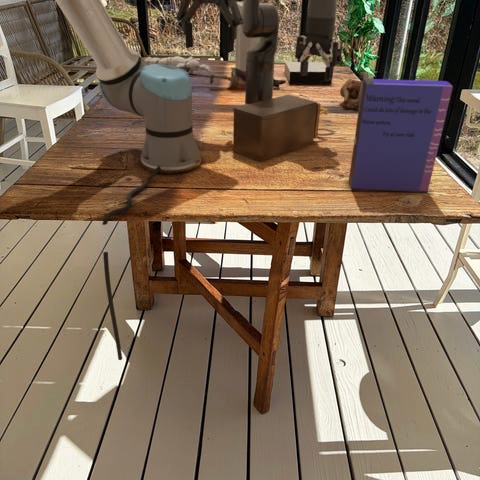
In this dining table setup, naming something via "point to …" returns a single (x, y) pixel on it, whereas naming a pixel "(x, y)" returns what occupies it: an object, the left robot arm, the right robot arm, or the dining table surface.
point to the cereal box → (398, 134)
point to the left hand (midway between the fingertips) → (209, 49)
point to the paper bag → (243, 43)
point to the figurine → (240, 79)
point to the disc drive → (313, 77)
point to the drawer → (318, 112)
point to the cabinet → (273, 126)
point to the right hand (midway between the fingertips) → (315, 78)
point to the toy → (178, 63)
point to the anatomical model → (352, 91)
